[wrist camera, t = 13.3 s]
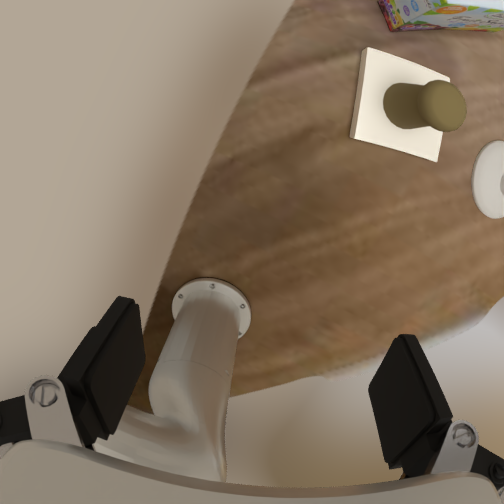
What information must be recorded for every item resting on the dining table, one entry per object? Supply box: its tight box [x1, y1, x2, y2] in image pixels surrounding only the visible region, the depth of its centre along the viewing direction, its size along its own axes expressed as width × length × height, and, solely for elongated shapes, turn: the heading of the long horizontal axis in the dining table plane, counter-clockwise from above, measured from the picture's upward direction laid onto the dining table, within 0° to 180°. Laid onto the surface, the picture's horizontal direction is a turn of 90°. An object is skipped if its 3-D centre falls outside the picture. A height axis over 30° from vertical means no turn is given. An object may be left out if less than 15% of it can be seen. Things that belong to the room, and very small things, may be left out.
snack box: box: [378, 0, 504, 32], centre depth 18 cm, size 21×6×15 cm, turn 110°
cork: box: [383, 80, 467, 132], centre depth 25 cm, size 6×6×11 cm
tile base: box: [349, 47, 450, 162], centre depth 31 cm, size 12×12×2 cm
